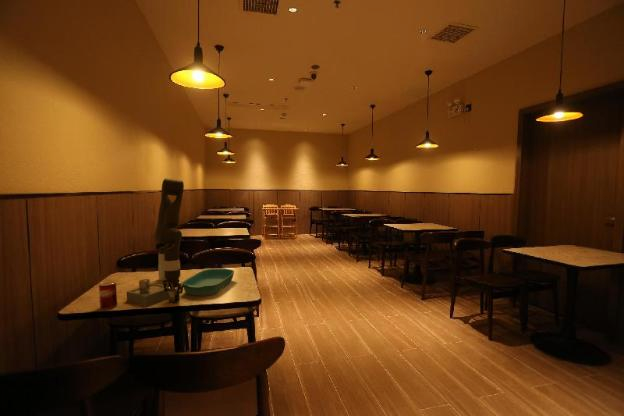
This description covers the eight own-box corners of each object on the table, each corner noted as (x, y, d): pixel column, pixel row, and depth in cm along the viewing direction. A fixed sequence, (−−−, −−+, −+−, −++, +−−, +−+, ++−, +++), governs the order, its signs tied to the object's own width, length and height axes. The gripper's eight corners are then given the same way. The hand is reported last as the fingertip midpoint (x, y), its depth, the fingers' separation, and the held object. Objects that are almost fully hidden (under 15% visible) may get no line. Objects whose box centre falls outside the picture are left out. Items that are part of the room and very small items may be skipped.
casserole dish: (214, 299, 167) (214, 286, 166) (175, 298, 170) (174, 285, 169) (239, 279, 203) (239, 268, 203) (206, 278, 206) (206, 267, 206)
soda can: (105, 304, 161) (104, 281, 161) (120, 303, 162) (118, 280, 161) (96, 310, 154) (95, 285, 153) (112, 309, 155) (111, 285, 154)
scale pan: (132, 294, 166) (132, 291, 166) (153, 287, 177) (153, 285, 177) (146, 298, 160) (146, 295, 160) (167, 291, 171) (167, 288, 171)
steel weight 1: (137, 292, 165) (136, 281, 165) (146, 289, 169) (145, 278, 169) (143, 293, 162) (142, 282, 162) (152, 291, 167) (151, 279, 166)
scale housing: (126, 301, 166) (126, 291, 166) (155, 291, 180) (154, 283, 179) (145, 306, 158) (144, 296, 158) (173, 296, 172) (173, 287, 171)
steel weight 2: (166, 302, 163) (165, 291, 162) (174, 299, 167) (173, 288, 167) (173, 304, 161) (172, 292, 160) (181, 300, 165) (180, 289, 165)
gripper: (156, 268, 163) (158, 300, 164) (175, 271, 156) (176, 305, 157) (169, 265, 170) (171, 296, 171) (187, 268, 162) (189, 300, 164)
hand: (173, 300), depth 164 cm, fingers closed on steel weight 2, 5 cm apart
